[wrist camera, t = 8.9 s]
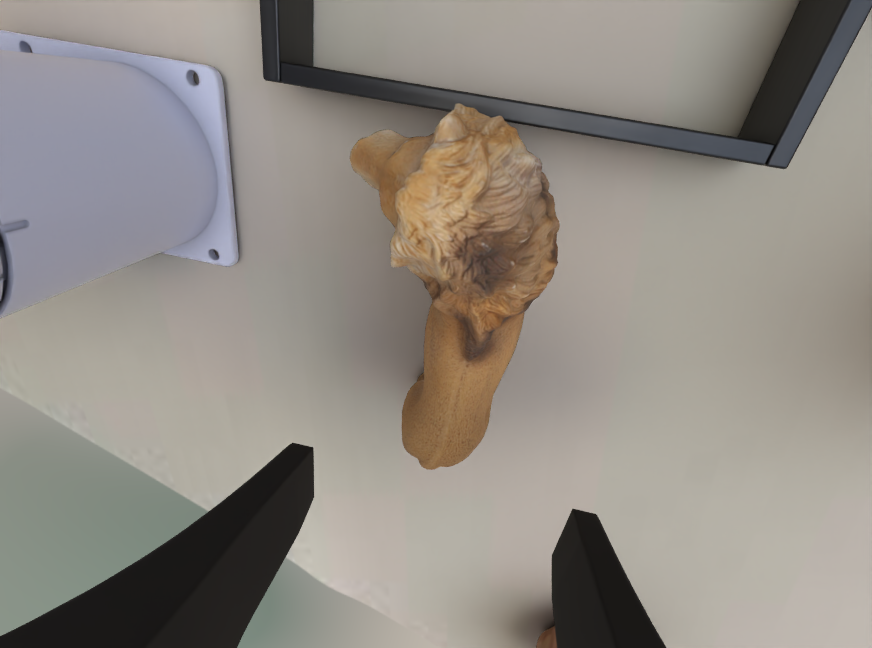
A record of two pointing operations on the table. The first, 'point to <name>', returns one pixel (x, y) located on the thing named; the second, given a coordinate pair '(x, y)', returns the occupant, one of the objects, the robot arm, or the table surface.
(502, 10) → the table surface
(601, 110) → the table surface
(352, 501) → the table surface
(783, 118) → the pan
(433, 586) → the table surface
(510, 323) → the lion figurine
